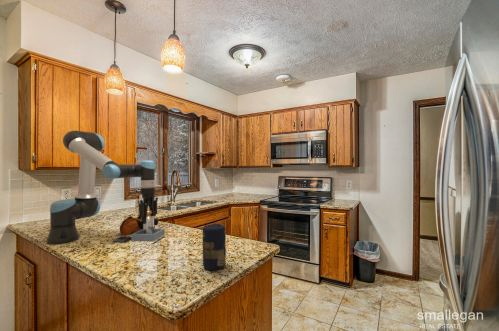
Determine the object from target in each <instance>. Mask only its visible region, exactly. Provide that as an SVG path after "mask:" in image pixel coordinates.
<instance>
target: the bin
mask: <svg viewBox="0 0 499 331" xmlns="http://www.w3.org/2000/svg"><path fill="white" fill-rule="evenodd" d="M152 232H153V233H152V234H145V229H142V230H140V231H138V232H135V233H132V234H130V235H131V236H130V237H131V240H130V241H132V242H151V245H155V244H156V243H158V242H159V241H161V240H162V239H165V238H166V236H165V235H166V233H165V232H166V230H165V228H154V229H152Z"/></svg>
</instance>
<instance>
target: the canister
mask: <svg viewBox="0 0 499 331" xmlns="http://www.w3.org/2000/svg"><path fill="white" fill-rule="evenodd" d="M226 232H227V231H226V227H225V225H224V224H220V223H210V224H207V225H204V226H203V227H202V265H203V268H205V269H206V270H210V271H212V270H213V271H217V270H220V269H222V268H224V267H225V266H226V264H227V263H226V261H227V260H226V252H227V250H226V248H227V247H226V246H227V245H226V242H227V241H226V237H227V236H226Z"/></svg>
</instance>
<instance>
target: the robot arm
mask: <svg viewBox="0 0 499 331" xmlns="http://www.w3.org/2000/svg"><path fill="white" fill-rule="evenodd" d="M105 144H106V143H105V140H104V137H102V135H100V134H99V133H96V132H91V131H83V130H70V131H68V132H67V133H65V134H64V136H63V137H62V145H63V146H64V148H65V149H67V151H69V152H71V153H73V154H77V155H79V157H80V160H79V174H78V188H77V194H76V195H75V196H74V198H65V199H60V200H59V199H58V200H57V201H53V202H51V204H50V207H49V208H50V209H49V212H50V214H49V215H50V217H49V220H50V224H49V225H50V230H49V231H48V236H47V237H46V244H48V245H61V244H66V243H71V242H75V241H77V240H79V239H80V233H79V232H78V229H77V226H76V221H77V220H81V219H85V218H91V217H94V216H95V215H97V214H98V213H99V212H100V209H101V202H100V199H98V198H97V195H96V194H95V188H96V187H95V186H96V185H95V184H96V174H97V172H96V171H97V168H98V169H99V170H100V171H101V172H102V175H103V177H104V178H106V179H112V180H115V179H126V178H129V179H131V178H140V195H141V199H138V200H137V204H138V215H139V217H141V218H142V219H143V229H146V230H147V229H148V218H147V211H148V210H152V214H151V220H152V228H153V227H154V226H155V225H154V219H155V217H156V216H157V214H158V200H159V197H158V196H155V194H156V187H155V186H156V183H155V182H156V180H155V175H156V174H155V171H156V168H155V161H154V160H141V161H140V163H139V164H138V163H137V164H132V163H131V164H123V163H122V164H120V163H117V162H116V161H114V160H112V159H111V158H109V156H107V155H105V154H103V153H102V151H103V150H104V149H105V146H106V145H105ZM144 215H145V216H144Z"/></svg>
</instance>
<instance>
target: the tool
mask: <svg viewBox="0 0 499 331" xmlns="http://www.w3.org/2000/svg"><path fill="white" fill-rule="evenodd" d="M158 224H159V219H157V218H154V227H153V228H152V229H156V226H158ZM142 229H143V219H142V218H141V217H139V214H138V216H137V217H133V216H129V217H127V218H125V219H123V221H121V224H120V226H119V233H120V235H121V236H123V237H127V236H129V235H131V234H133V233H135V232H138V231H140V230H142Z"/></svg>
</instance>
